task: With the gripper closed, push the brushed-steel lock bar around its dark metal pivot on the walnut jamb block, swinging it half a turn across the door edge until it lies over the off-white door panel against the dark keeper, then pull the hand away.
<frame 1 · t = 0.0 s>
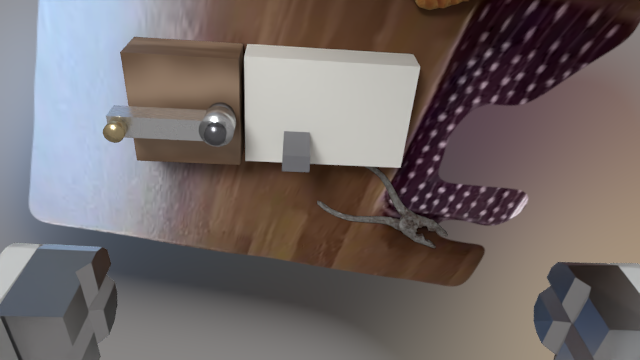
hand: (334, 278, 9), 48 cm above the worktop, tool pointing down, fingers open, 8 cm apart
jamb block: (193, 94, 58), on the worktop
lock bar: (172, 127, 51), point 8 cm above the worktop, hinge at 0.0°
door panel: (326, 101, 59), on the worktop
pliers: (392, 201, 69), on the worktop
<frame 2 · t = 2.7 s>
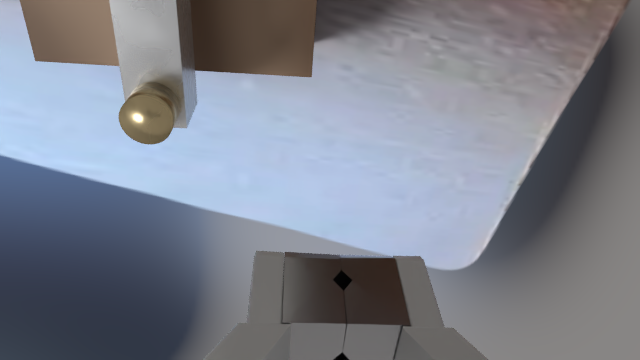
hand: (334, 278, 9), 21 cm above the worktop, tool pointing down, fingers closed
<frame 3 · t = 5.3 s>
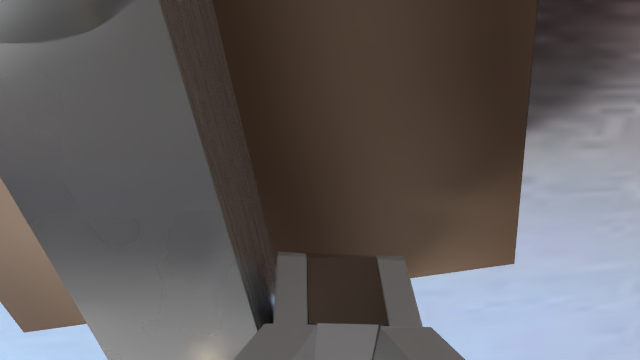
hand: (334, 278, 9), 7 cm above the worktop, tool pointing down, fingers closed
jamb block: (224, 14, 14), on the worktop
lock bar: (149, 227, 7), point 8 cm above the worktop, hinge at 2.1°, touching gripper
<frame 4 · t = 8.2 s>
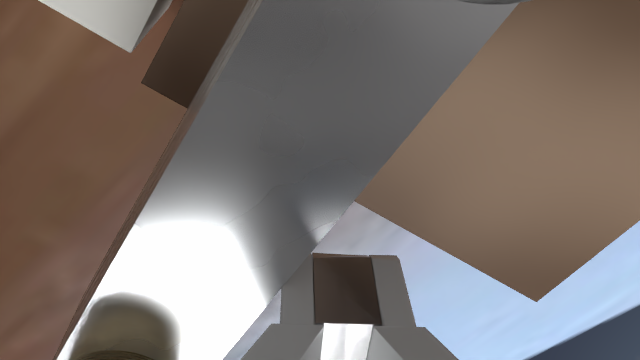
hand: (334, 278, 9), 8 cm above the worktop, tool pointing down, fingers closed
lock bar: (276, 148, 7), point 8 cm above the worktop, hinge at 88.7°, touching gripper
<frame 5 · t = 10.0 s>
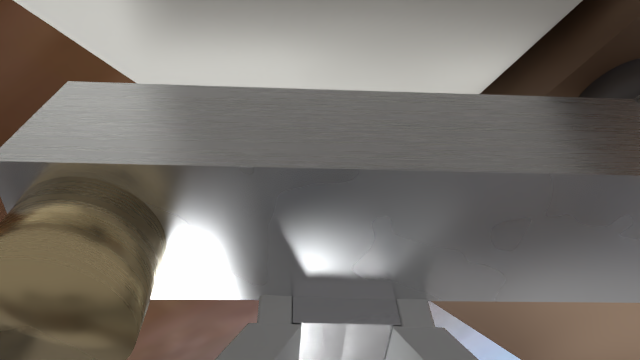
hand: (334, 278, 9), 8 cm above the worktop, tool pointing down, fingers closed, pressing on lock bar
jamb block: (608, 123, 16), on the worktop
lock bar: (468, 221, 7), point 8 cm above the worktop, hinge at 142.1°, touching gripper
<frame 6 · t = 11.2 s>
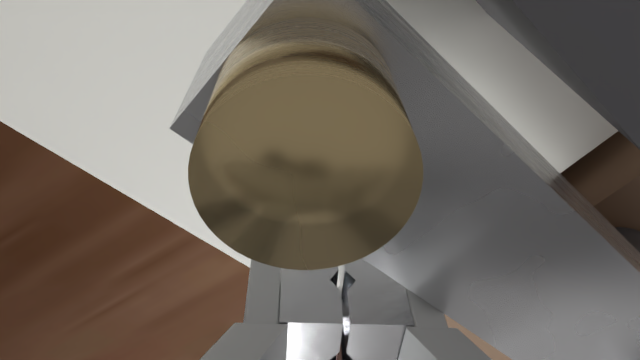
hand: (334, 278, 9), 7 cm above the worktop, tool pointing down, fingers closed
jamb block: (586, 226, 18), on the worktop
lock bar: (556, 293, 8), point 9 cm above the worktop, hinge at 180.1°, touching gripper
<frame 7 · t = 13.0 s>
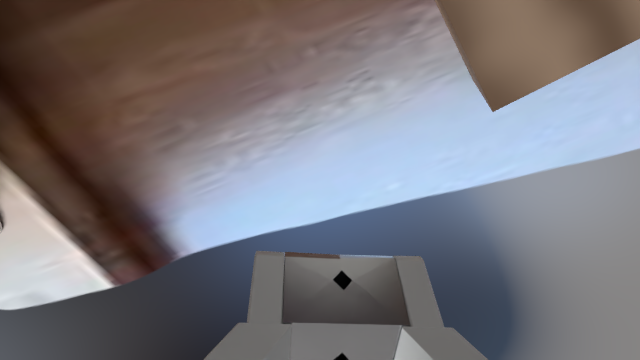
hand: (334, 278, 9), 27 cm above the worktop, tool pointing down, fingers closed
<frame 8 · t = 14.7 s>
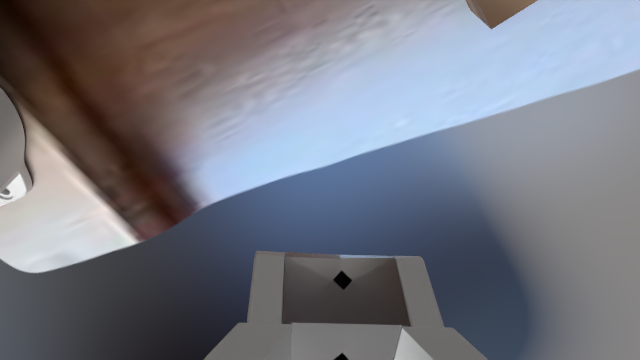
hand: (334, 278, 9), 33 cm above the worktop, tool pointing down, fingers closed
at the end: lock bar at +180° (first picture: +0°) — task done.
